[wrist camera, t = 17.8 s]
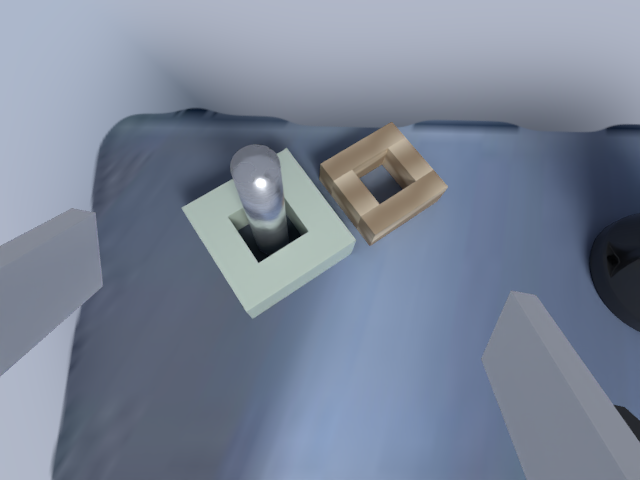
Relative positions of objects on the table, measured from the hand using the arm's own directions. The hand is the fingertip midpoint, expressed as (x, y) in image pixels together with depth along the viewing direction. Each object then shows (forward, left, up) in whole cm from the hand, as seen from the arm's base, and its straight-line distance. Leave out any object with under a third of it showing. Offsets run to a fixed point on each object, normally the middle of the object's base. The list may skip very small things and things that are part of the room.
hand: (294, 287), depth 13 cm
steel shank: (+13, -4, -34) cm, 36 cm away
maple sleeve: (+11, -19, -34) cm, 40 cm away
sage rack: (+13, -4, -34) cm, 36 cm away
